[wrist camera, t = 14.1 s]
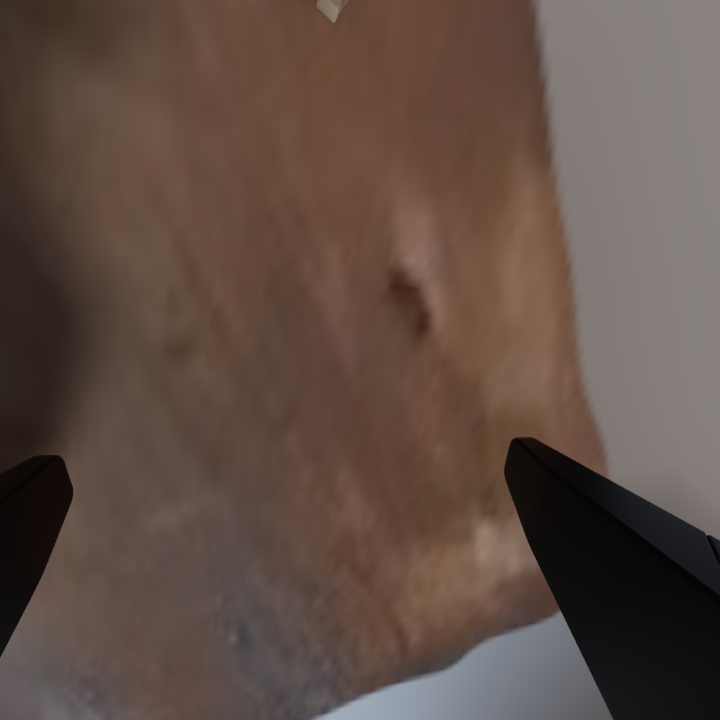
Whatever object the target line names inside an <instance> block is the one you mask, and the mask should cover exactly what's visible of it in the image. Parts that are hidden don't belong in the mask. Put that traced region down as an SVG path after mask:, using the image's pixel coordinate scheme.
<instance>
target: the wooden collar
mask: <svg viewBox="0 0 720 720" xmlns="http://www.w3.org/2000/svg"><path fill="white" fill-rule="evenodd" d="M347 2H348V0H318V1H317V6H316V7H317V8H318V9H319V10H320V11H321V12H322V13H323V14H324V15H326V16H327V17H328V18H329V19H330V20H331V21H332V22H333V23H335V21H336V20H337V18H338V17H339V15H340V13H341V12H342V10H343V8H344V7H345V5H346V3H347Z"/></svg>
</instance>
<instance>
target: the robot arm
mask: <svg viewBox="0 0 720 720" xmlns="http://www.w3.org/2000/svg"><path fill="white" fill-rule="evenodd" d="M504 475H505V479H506V482H507V485H508V488H509V491H510V494H511V496H512V499H513V502H514V505H515V508H516V510H517V513H518V516H519V519H520V522H521V524H522V527H523V530H524V533H525V535H526V538H527V540H528V543H529V545H530V547H531V550H532V552H533V554H534V556H535V558H536V560H537V562H538V564H539V566H540V569H541V571H542V573H543V575H544V577H545V579H546V581H547V583H548V585H549V587H550V589H551V591H552V593H553V595H554V598H555V600H556V602H557V604H558V606H559V608H560V610H561V612H562V614H563V616H564V618H565V620H566V622H567V624H568V627H569V629H570V630H571V633H572V635H573V637H574V639H575V641H576V643H577V645H578V647H579V649H580V651H581V654H582V656H583V658H584V660H585V662H586V664H587V666H588V668H589V670H590V672H591V674H592V676H593V678H594V681H595V682H596V685H597V687H598V689H599V691H600V693H601V695H602V697H603V699H604V701H605V703H606V705H607V707H608V710H609V712H610V714H611V716H612V718H613V720H720V540H718V539H716V538H714V537H712V536H710V535H707V536H706V534H705V533H704V532H703V531H701V530H700V529H698V528H696V527H694V526H692V525H690V524H689V523H687V522H685V521H683V520H681V519H680V518H678V517H676V516H674V515H672V514H671V513H669V512H667V511H665V510H663V509H661V508H660V507H658V506H656V505H654V504H652V503H651V502H649V501H647V500H645V499H643V498H642V497H640V496H638V495H636V494H634V493H632V492H631V491H629V490H627V489H625V488H623V487H622V486H620V485H618V484H616V483H614V482H613V481H611V480H609V479H607V478H605V477H603V476H602V475H600V474H598V473H596V472H594V471H593V470H591V469H589V468H587V467H585V466H584V465H582V464H580V463H578V462H576V461H574V460H573V459H571V458H569V457H567V456H565V455H564V454H562V453H560V452H558V451H556V450H555V449H553V448H551V447H549V446H547V445H545V444H544V443H542V442H540V441H538V440H536V439H535V438H532V437H518V438H514V439H512V441H511V443H510V446H509V450H508V455H507V459H506V463H505V468H504ZM72 498H73V486H72V483H71V480H70V477H69V474H68V471H67V468H66V465H65V462H64V460H63V458H62V457H61V456H58V455H39V456H34V457H32V458H30V459H28V460H26V461H24V462H22V463H20V464H19V465H17V466H15V467H13V468H11V469H9V470H7V471H5V472H4V473H2V474H0V657H1V655H2V653H3V651H4V649H5V647H6V645H7V644H8V642H9V640H10V638H11V636H12V634H13V632H14V630H15V628H16V626H17V624H18V622H19V620H20V618H21V616H22V615H23V613H24V611H25V609H26V607H27V605H28V603H29V601H30V599H31V597H32V595H33V593H34V591H35V589H36V587H37V585H38V583H39V581H40V579H41V577H42V575H43V572H44V570H45V568H46V565H47V563H48V561H49V558H50V555H51V553H52V550H53V548H54V545H55V543H56V540H57V538H58V535H59V532H60V530H61V527H62V525H63V522H64V520H65V517H66V515H67V512H68V510H69V507H70V504H71V502H72Z"/></svg>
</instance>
